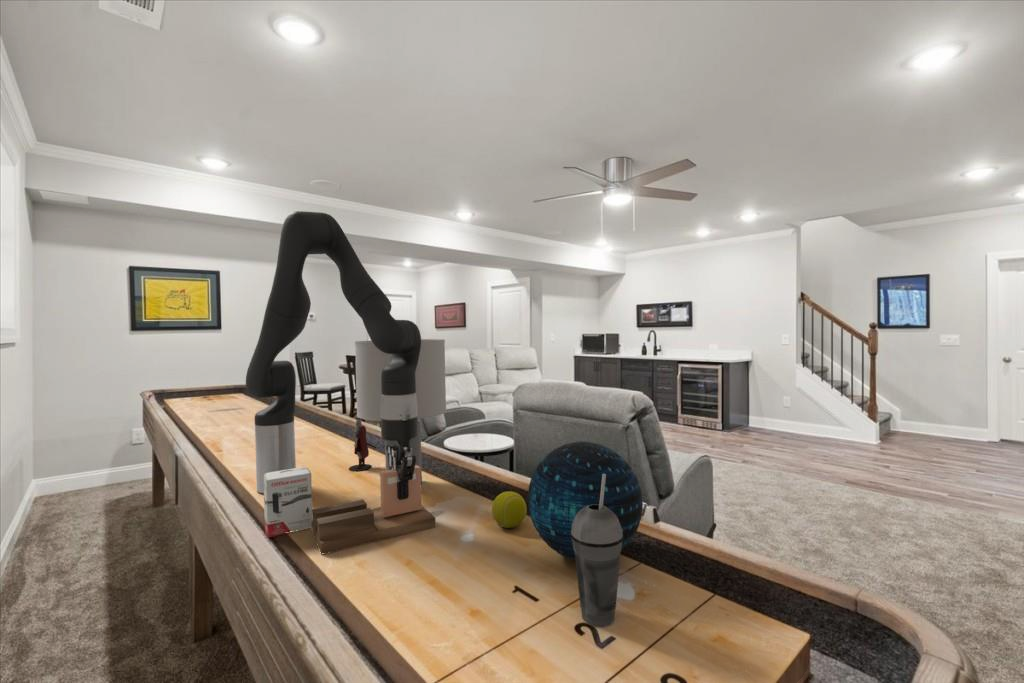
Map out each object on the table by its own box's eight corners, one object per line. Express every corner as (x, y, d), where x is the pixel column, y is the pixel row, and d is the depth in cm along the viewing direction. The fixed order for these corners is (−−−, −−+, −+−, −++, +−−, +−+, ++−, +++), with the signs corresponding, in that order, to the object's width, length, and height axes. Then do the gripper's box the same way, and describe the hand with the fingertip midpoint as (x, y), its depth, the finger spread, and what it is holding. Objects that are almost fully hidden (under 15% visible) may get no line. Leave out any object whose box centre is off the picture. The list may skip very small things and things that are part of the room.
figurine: (354, 464, 144) (353, 415, 144) (377, 465, 143) (376, 415, 143) (344, 471, 137) (343, 420, 137) (368, 471, 136) (367, 420, 136)
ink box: (267, 538, 93) (265, 479, 93) (264, 530, 97) (262, 473, 97) (313, 528, 98) (312, 471, 97) (309, 520, 102) (307, 465, 102)
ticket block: (311, 531, 96) (311, 506, 96) (415, 508, 107) (415, 486, 107) (321, 554, 86) (320, 527, 86) (435, 526, 97) (434, 502, 97)
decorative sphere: (506, 551, 86) (504, 442, 85) (583, 522, 98) (582, 426, 97) (587, 600, 70) (585, 466, 69) (667, 558, 82) (666, 444, 81)
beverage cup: (566, 603, 69) (564, 467, 69) (615, 600, 70) (613, 465, 69) (578, 635, 62) (575, 484, 61) (632, 631, 62) (630, 481, 62)
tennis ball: (533, 528, 95) (532, 494, 95) (503, 536, 92) (502, 501, 92) (515, 517, 101) (514, 484, 101) (486, 524, 98) (485, 490, 98)
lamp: (465, 479, 128) (462, 339, 127) (403, 506, 108) (399, 341, 108) (404, 467, 140) (401, 339, 139) (339, 490, 121) (335, 341, 120)
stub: (381, 514, 98) (380, 471, 98) (418, 506, 102) (417, 465, 102) (383, 517, 96) (382, 473, 96) (421, 509, 101) (420, 467, 100)
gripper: (372, 412, 103) (374, 490, 103) (391, 422, 91) (393, 511, 91) (406, 408, 107) (407, 484, 107) (428, 418, 95) (429, 503, 95)
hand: (401, 496), depth 99 cm, fingers closed on stub, 2 cm apart
